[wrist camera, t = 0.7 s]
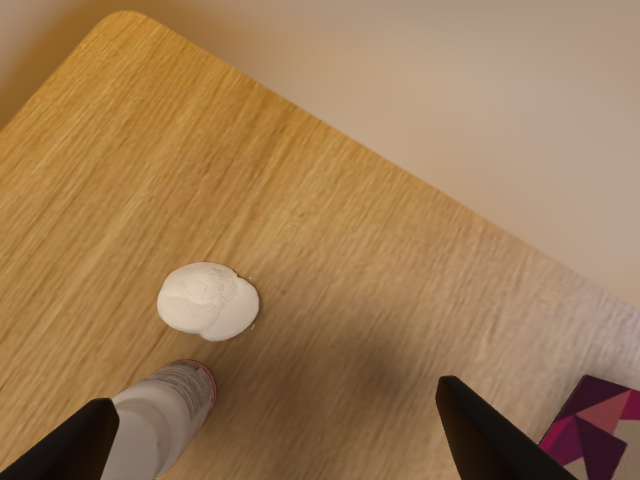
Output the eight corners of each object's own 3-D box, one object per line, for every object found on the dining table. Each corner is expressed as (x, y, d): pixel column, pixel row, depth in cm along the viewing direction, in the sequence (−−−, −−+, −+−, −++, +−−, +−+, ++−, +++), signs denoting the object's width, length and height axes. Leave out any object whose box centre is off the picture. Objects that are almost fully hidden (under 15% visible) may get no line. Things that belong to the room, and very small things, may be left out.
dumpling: (163, 317, 23) (131, 307, 19) (201, 257, 25) (179, 238, 21) (244, 359, 22) (226, 357, 18) (278, 292, 23) (268, 278, 20)
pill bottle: (176, 444, 21) (95, 544, 13) (136, 389, 22) (33, 452, 14) (231, 397, 22) (188, 465, 14) (192, 344, 23) (126, 379, 14)
